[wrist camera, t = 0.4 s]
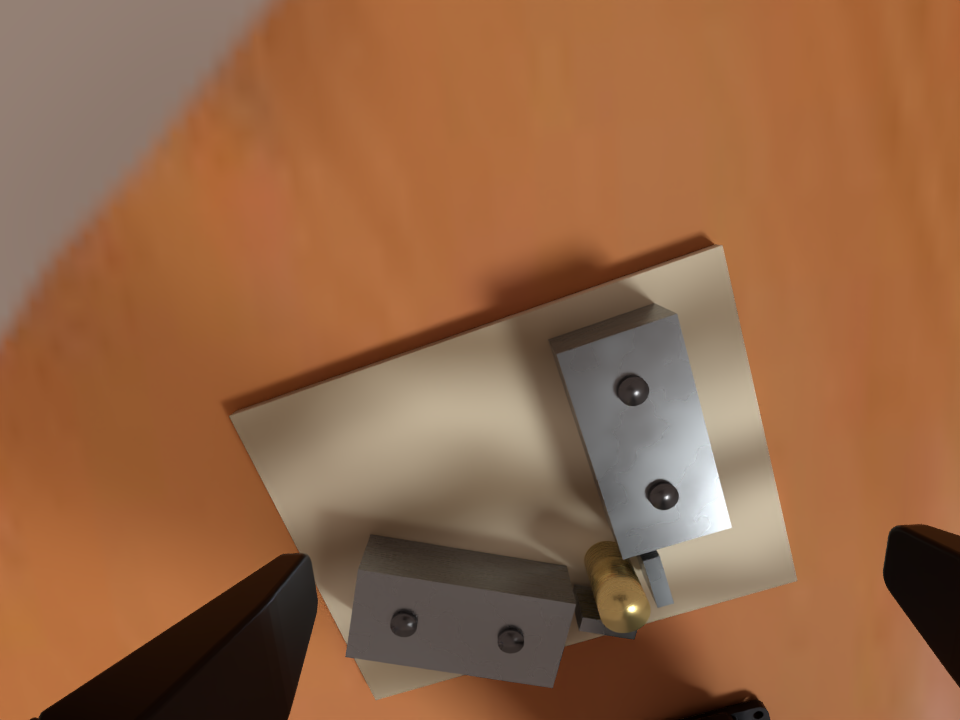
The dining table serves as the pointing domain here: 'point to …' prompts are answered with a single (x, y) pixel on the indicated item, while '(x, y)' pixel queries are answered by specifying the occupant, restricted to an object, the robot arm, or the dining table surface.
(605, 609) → the hinge base
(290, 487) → the mounting board
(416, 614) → the gray two-knob panel
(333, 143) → the dining table surface
